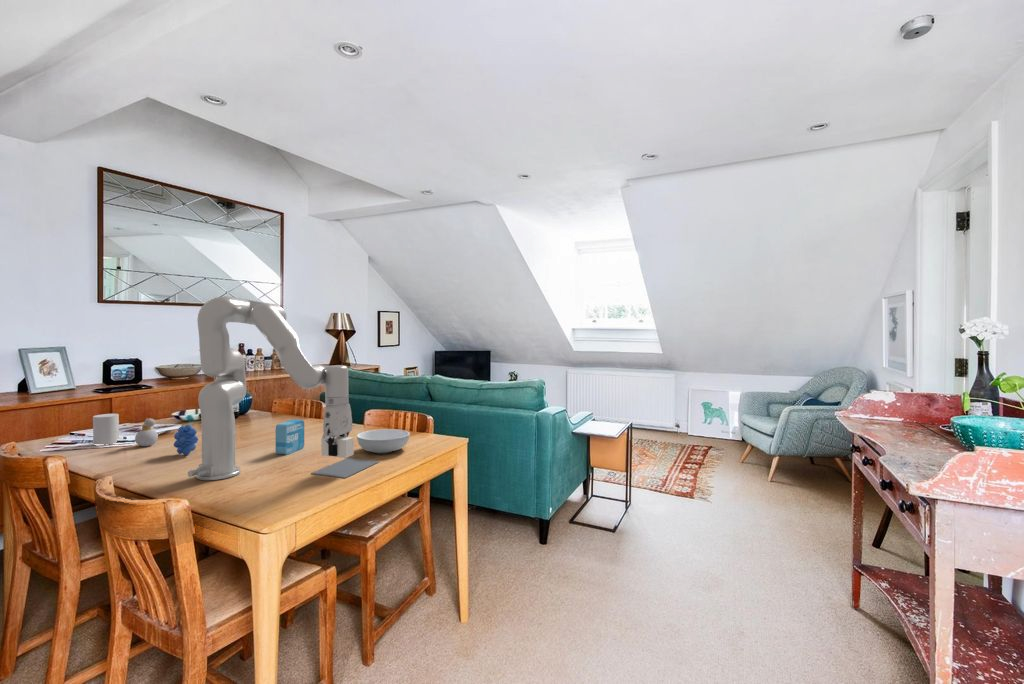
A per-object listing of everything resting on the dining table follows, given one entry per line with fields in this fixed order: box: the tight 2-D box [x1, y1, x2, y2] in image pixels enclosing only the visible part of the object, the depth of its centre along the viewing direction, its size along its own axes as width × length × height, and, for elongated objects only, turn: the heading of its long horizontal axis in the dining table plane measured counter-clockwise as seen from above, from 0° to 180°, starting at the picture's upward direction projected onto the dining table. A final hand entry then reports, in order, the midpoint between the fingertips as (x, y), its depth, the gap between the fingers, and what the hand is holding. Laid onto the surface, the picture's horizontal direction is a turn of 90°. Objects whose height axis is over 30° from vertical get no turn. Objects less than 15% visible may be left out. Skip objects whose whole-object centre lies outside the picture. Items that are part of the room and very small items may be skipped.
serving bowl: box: [356, 428, 411, 454], centre depth 190 cm, size 21×21×7 cm
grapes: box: [173, 424, 199, 456], centre depth 180 cm, size 12×7×12 cm, turn 71°
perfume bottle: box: [134, 417, 159, 447], centre depth 192 cm, size 8×10×12 cm
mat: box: [310, 457, 381, 479], centre depth 166 cm, size 20×14×1 cm
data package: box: [275, 418, 305, 456], centre depth 186 cm, size 12×4×12 cm, turn 170°
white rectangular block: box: [320, 436, 355, 459], centre depth 160 cm, size 4×10×6 cm, turn 73°
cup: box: [92, 413, 120, 445], centre depth 194 cm, size 8×8×12 cm
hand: (337, 453), depth 160 cm, fingers closed on white rectangular block, 4 cm apart
